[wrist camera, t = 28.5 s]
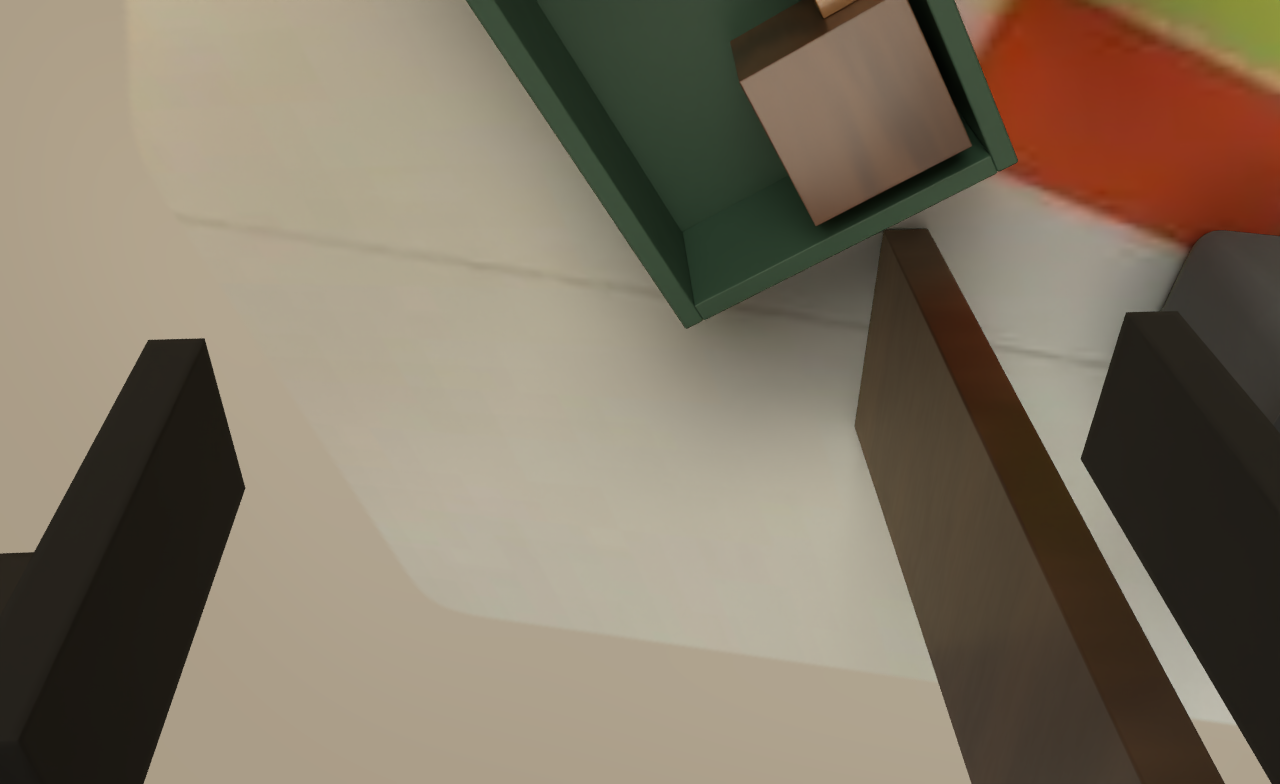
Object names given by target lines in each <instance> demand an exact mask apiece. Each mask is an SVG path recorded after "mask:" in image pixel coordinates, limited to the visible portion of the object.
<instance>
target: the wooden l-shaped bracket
mask: <svg viewBox="0 0 1280 784" xmlns="http://www.w3.org/2000/svg"><path fill="white" fill-rule="evenodd" d="M855 429H856V432H857V435H858V438H859V441H860V444H861V447H862V450H863V453H864V456H865V459H866V463H867V466H868V469H869V472H870V475H871V478H872V481H873V484H874V487H875V490H876V493H877V496H878V499H879V502H880V505H881V508H882V511H883V514H884V518H885V521H886V524H887V527H888V530H889V533H890V536H891V539H892V542H893V545H894V548H895V551H896V554H897V557H898V560H899V563H900V566H901V569H902V573H903V576H904V579H905V582H906V585H907V588H908V591H909V594H910V597H911V600H912V603H913V606H914V609H915V612H916V615H917V618H918V621H919V625H920V628H921V631H922V634H923V637H924V640H925V643H926V646H927V649H928V652H929V655H930V658H931V661H932V664H933V667H934V670H935V673H936V676H937V680H938V683H939V686H940V689H941V692H942V695H943V697H944V700H945V704H946V707H947V710H948V713H949V716H950V719H951V722H952V725H953V728H954V731H955V734H956V737H957V741H958V744H959V747H960V750H961V753H962V756H963V759H964V762H965V765H966V768H967V771H968V774H969V777H970V780H971V783H972V784H1225V783H1224V781H1223V779H1222V778H1221V776H1220V774H1219V772H1218V770H1217V768H1216V766H1215V764H1214V763H1213V761H1212V759H1211V757H1210V755H1209V753H1208V751H1207V749H1206V748H1205V746H1204V744H1203V742H1202V740H1201V738H1200V736H1199V735H1198V733H1197V731H1196V729H1195V727H1194V725H1193V723H1192V721H1191V720H1190V718H1189V716H1188V714H1187V712H1186V710H1185V708H1184V706H1183V705H1182V703H1181V701H1180V699H1179V697H1178V695H1177V693H1176V692H1175V690H1174V688H1173V686H1172V684H1171V682H1170V680H1169V678H1168V677H1167V675H1166V673H1165V671H1164V669H1163V667H1162V665H1161V664H1160V662H1159V660H1158V658H1157V656H1156V654H1155V652H1154V650H1153V649H1152V647H1151V645H1150V643H1149V641H1148V639H1147V637H1146V636H1145V634H1144V632H1143V630H1142V628H1141V626H1140V624H1139V622H1138V621H1137V619H1136V617H1135V615H1134V613H1133V611H1132V609H1131V608H1130V606H1129V604H1128V602H1127V600H1126V598H1125V596H1124V594H1123V593H1122V591H1121V589H1120V587H1119V585H1118V583H1117V581H1116V579H1115V578H1114V576H1113V574H1112V572H1111V570H1110V568H1109V566H1108V565H1107V563H1106V561H1105V559H1104V557H1103V555H1102V553H1101V551H1100V550H1099V548H1098V546H1097V544H1096V542H1095V540H1094V538H1093V537H1092V535H1091V533H1090V531H1089V529H1088V527H1087V525H1086V523H1085V522H1084V520H1083V518H1082V516H1081V514H1080V512H1079V510H1078V509H1077V507H1076V505H1075V503H1074V501H1073V499H1072V497H1071V495H1070V494H1069V492H1068V490H1067V488H1066V486H1065V484H1064V482H1063V481H1062V479H1061V477H1060V475H1059V473H1058V471H1057V469H1056V467H1055V466H1054V464H1053V462H1052V460H1051V458H1050V456H1049V454H1048V453H1047V451H1046V449H1045V447H1044V445H1043V443H1042V441H1041V439H1040V438H1039V436H1038V434H1037V432H1036V430H1035V428H1034V426H1033V425H1032V423H1031V421H1030V419H1029V417H1028V415H1027V413H1026V411H1025V410H1024V408H1023V406H1022V404H1021V402H1020V400H1019V398H1018V397H1017V395H1016V393H1015V391H1014V389H1013V387H1012V385H1011V383H1010V382H1009V380H1008V378H1007V376H1006V374H1005V372H1004V370H1003V368H1002V367H1001V365H1000V363H999V361H998V359H997V357H996V355H995V354H994V352H993V350H992V348H991V346H990V344H989V342H988V340H987V339H986V337H985V335H984V333H983V331H982V329H981V327H980V326H979V324H978V322H977V320H976V318H975V316H974V314H973V312H972V311H971V309H970V307H969V305H968V303H967V301H966V299H965V298H964V296H963V294H962V292H961V290H960V288H959V286H958V284H957V283H956V281H955V279H954V277H953V275H952V273H951V271H950V270H949V268H948V266H947V264H946V262H945V260H944V258H943V256H942V255H941V253H940V251H939V249H938V247H937V245H936V243H935V242H934V240H933V238H932V236H931V234H930V232H929V230H928V229H903V230H884V232H883V238H882V244H881V251H880V258H879V265H878V271H877V278H876V285H875V292H874V299H873V305H872V312H871V319H870V326H869V332H868V339H867V346H866V353H865V360H864V366H863V373H862V380H861V387H860V394H859V400H858V407H857V414H856V421H855Z"/></svg>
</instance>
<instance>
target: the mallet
mask: <svg viewBox="0 0 1280 784" xmlns="http://www.w3.org/2000/svg"><path fill="white" fill-rule="evenodd" d="M730 45H731V49H732V53H733V58H734V62H735V66H736V71H737V75H738V80H739V83H740V85H741V87H742V89H743V91H744V93H745V95H746V97H747V98H748V100H749V102H750V104H751V106H752V108H753V110H754V112H755V113H756V115H757V117H758V119H759V121H760V123H761V125H762V127H763V129H764V130H765V132H766V134H767V136H768V138H769V140H770V142H771V144H772V145H773V147H774V149H775V151H776V153H777V155H778V157H779V159H780V160H781V162H782V164H783V166H784V168H785V170H786V172H787V174H788V176H789V177H790V179H791V181H792V183H793V185H794V187H795V189H796V191H797V192H798V194H799V196H800V198H801V200H802V202H803V204H804V206H805V207H806V209H807V211H808V213H809V215H810V217H811V219H812V221H813V222H814V224H815V226H818V225H820V224H822V223H824V222H826V221H827V220H829V219H831V218H833V217H835V216H837V215H839V214H841V213H843V212H845V211H847V210H849V209H851V208H853V207H855V206H857V205H859V204H861V203H862V202H864V201H866V200H868V199H870V198H872V197H874V196H876V195H878V194H880V193H882V192H884V191H886V190H888V189H890V188H892V187H894V186H896V185H898V184H899V183H901V182H903V181H905V180H907V179H909V178H911V177H913V176H915V175H917V174H919V173H921V172H923V171H925V170H927V169H929V168H931V167H933V166H935V165H936V164H938V163H940V162H942V161H944V160H946V159H948V158H950V157H952V156H954V155H956V154H958V153H960V152H962V151H964V150H966V149H968V148H970V147H971V146H972V143H971V141H970V139H969V137H968V134H967V132H966V130H965V128H964V125H963V123H962V121H961V119H960V116H959V114H958V112H957V109H956V107H955V105H954V103H953V100H952V98H951V96H950V94H949V91H948V89H947V87H946V85H945V82H944V80H943V78H942V76H941V73H940V71H939V69H938V66H937V64H936V62H935V60H934V57H933V55H932V53H931V51H930V48H929V46H928V44H927V42H926V39H925V37H924V35H923V32H922V30H921V28H920V26H919V23H918V21H917V19H916V17H915V14H914V12H913V10H912V8H911V5H910V3H909V1H908V0H801V1H799V2H798V3H796V4H794V5H792V6H791V7H789V8H787V9H785V10H784V11H782V12H780V13H779V14H777V15H775V16H773V17H772V18H770V19H768V20H766V21H765V22H763V23H761V24H759V25H758V26H756V27H754V28H752V29H751V30H749V31H747V32H746V33H744V34H742V35H740V36H739V37H737V38H735V39H733V40H732V41H730Z"/></svg>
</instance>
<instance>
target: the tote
mask: <svg viewBox="0 0 1280 784" xmlns="http://www.w3.org/2000/svg"><path fill="white" fill-rule="evenodd" d="M466 1H467V3H468V4H469V6H470V7H471V9H472V10H473V12H474V13H475V15H476V16H477V18H478V19H479V21H480V22H481V24H482V25H483V27H484V28H485V30H486V31H487V33H488V34H489V36H490V37H491V39H492V40H493V42H494V43H495V45H496V46H497V48H498V49H499V51H500V52H501V54H502V55H503V57H504V58H505V60H506V61H507V63H508V64H509V66H510V67H511V69H512V70H513V72H514V73H515V75H516V76H517V78H518V79H519V81H520V82H521V84H522V85H523V87H524V88H525V90H526V91H527V93H528V94H529V96H530V97H531V99H532V100H533V102H534V103H535V105H536V106H537V108H538V109H539V110H540V112H541V113H542V115H543V116H544V118H545V119H546V121H547V122H548V124H549V125H550V127H551V128H552V130H553V131H554V133H555V134H556V136H557V137H558V139H559V140H560V142H561V143H562V145H563V146H564V148H565V149H566V151H567V152H568V154H569V155H570V157H571V158H572V160H573V161H574V163H575V164H576V166H577V167H578V169H579V170H580V172H581V173H582V175H583V176H584V178H585V179H586V181H587V182H588V184H589V185H590V187H591V188H592V190H593V191H594V193H595V194H596V196H597V197H598V199H599V200H600V202H601V203H602V205H603V206H604V208H605V209H606V211H607V212H608V214H609V215H610V217H611V218H612V220H613V221H614V223H615V224H616V226H617V227H618V229H619V230H620V232H621V233H622V235H623V236H624V238H625V239H626V241H627V242H628V244H629V245H630V247H631V248H632V249H633V251H634V252H635V254H636V255H637V257H638V258H639V260H640V261H641V263H642V264H643V266H644V267H645V269H646V270H647V272H648V273H649V275H650V276H651V278H652V279H653V281H654V282H655V284H656V285H657V287H658V288H659V290H660V291H661V293H662V294H663V296H664V297H665V299H666V300H667V302H668V303H669V305H670V306H671V308H672V309H673V311H674V312H675V314H676V315H677V317H678V318H679V320H680V321H681V323H682V324H683V326H684V327H685V328H686V329H687V328H689V327H691V326H693V325H695V324H697V323H699V322H701V321H702V320H706V319H708V318H710V317H712V316H714V315H716V314H718V313H720V312H722V311H724V310H726V309H728V308H730V307H732V306H734V305H736V304H738V303H740V302H742V301H744V300H746V299H748V298H750V297H752V296H754V295H755V294H757V293H759V292H761V291H763V290H765V289H767V288H769V287H771V286H773V285H775V284H777V283H779V282H781V281H783V280H785V279H787V278H789V277H791V276H793V275H795V274H797V273H799V272H801V271H803V270H805V269H807V268H809V267H811V266H813V265H815V264H817V263H819V262H821V261H823V260H825V259H827V258H829V257H831V256H833V255H835V254H837V253H839V252H841V251H843V250H845V249H847V248H849V247H851V246H853V245H855V244H857V243H859V242H861V241H863V240H865V239H867V238H869V237H871V236H873V235H875V234H877V233H879V232H881V231H883V230H885V229H887V228H889V227H891V226H893V225H895V224H897V223H899V222H901V221H903V220H905V219H907V218H909V217H911V216H913V215H915V214H917V213H919V212H921V211H923V210H925V209H927V208H929V207H931V206H933V205H935V204H936V203H938V202H940V201H942V200H944V199H946V198H948V197H950V196H952V195H954V194H956V193H958V192H960V191H962V190H964V189H966V188H968V187H970V186H972V185H974V184H976V183H978V182H980V181H982V180H984V179H986V178H988V177H990V176H992V175H994V174H996V173H997V171H998V172H999V171H1001V170H1003V169H1005V168H1007V167H1009V166H1011V165H1013V164H1015V163H1017V162H1018V159H1017V156H1016V154H1015V151H1014V149H1013V146H1012V144H1011V141H1010V139H1009V136H1008V134H1007V131H1006V129H1005V126H1004V124H1003V121H1002V119H1001V116H1000V114H999V111H998V109H997V106H996V104H995V101H994V99H993V96H992V94H991V91H990V89H989V86H988V84H987V81H986V79H985V76H984V74H983V71H982V69H981V66H980V64H979V61H978V59H977V56H976V54H975V51H974V49H973V46H972V44H971V41H970V39H969V36H968V34H967V31H966V29H965V26H964V24H963V21H962V19H961V16H960V14H959V11H958V9H957V6H956V4H955V1H954V0H908V1H909V3H910V5H911V8H912V10H913V12H914V14H915V17H916V19H917V21H918V23H919V26H920V28H921V30H922V32H923V35H924V37H925V39H926V42H927V44H928V46H929V48H930V51H931V53H932V55H933V57H934V60H935V62H936V64H937V66H938V69H939V71H940V73H941V76H942V78H943V80H944V82H945V85H946V87H947V89H948V91H949V94H950V96H951V98H952V100H953V103H954V105H955V107H956V109H957V112H958V114H959V116H960V119H961V121H962V123H963V125H964V128H965V130H966V132H967V134H968V137H969V139H970V141H971V143H972V146H971V147H970V148H968V149H966V150H964V151H962V152H960V153H958V154H956V155H954V156H952V157H950V158H948V159H946V160H944V161H942V162H940V163H938V164H936V165H935V166H933V167H931V168H929V169H927V170H925V171H923V172H921V173H919V174H917V175H915V176H913V177H911V178H909V179H907V180H905V181H903V182H901V183H899V184H898V185H896V186H894V187H892V188H890V189H888V190H886V191H884V192H882V193H880V194H878V195H876V196H874V197H872V198H870V199H868V200H866V201H864V202H862V203H861V204H859V205H857V206H855V207H853V208H851V209H849V210H847V211H845V212H843V213H841V214H839V215H837V216H835V217H833V218H831V219H829V220H827V221H826V222H824V223H822V224H820V225H818V226H815V224H814V222H813V221H812V219H811V217H810V215H809V213H808V211H807V209H806V207H805V206H804V204H803V202H802V200H801V198H800V196H799V194H798V192H797V191H796V189H795V187H794V185H793V183H792V181H791V179H790V177H789V176H788V174H787V172H786V170H785V168H784V166H783V164H782V162H781V160H780V159H779V157H778V155H777V153H776V151H775V149H774V147H773V145H772V144H771V142H770V140H769V138H768V136H767V134H766V132H765V130H764V129H763V127H762V125H761V123H760V121H759V119H758V117H757V115H756V113H755V112H754V110H753V108H752V106H751V104H750V102H749V100H748V98H747V97H746V95H745V93H744V91H743V89H742V87H741V85H740V83H739V80H738V75H737V71H736V66H735V62H734V58H733V53H732V49H731V45H730V41H732V40H733V39H735V38H737V37H739V36H740V35H742V34H744V33H746V32H747V31H749V30H751V29H752V28H754V27H756V26H758V25H759V24H761V23H763V22H765V21H766V20H768V19H770V18H772V17H773V16H775V15H777V14H779V13H780V12H782V11H784V10H785V9H787V8H789V7H791V6H792V5H794V4H796V3H798V2H799V1H801V0H466Z"/></svg>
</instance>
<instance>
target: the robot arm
mask: <svg viewBox="0 0 1280 784" xmlns="http://www.w3.org/2000/svg"><path fill="white" fill-rule="evenodd" d="M1081 460H1082V462H1083V464H1084V466H1085V467H1086V469H1087V471H1088V472H1089V474H1090V476H1091V477H1092V479H1093V481H1094V483H1095V484H1096V486H1097V488H1098V489H1099V491H1100V493H1101V494H1102V496H1103V498H1104V500H1105V501H1106V503H1107V505H1108V506H1109V508H1110V510H1111V511H1112V513H1113V515H1114V517H1115V518H1116V520H1117V522H1118V523H1119V525H1120V527H1121V528H1122V530H1123V532H1124V534H1125V535H1126V537H1127V539H1128V540H1129V542H1130V544H1131V545H1132V547H1133V549H1134V551H1135V552H1136V554H1137V556H1138V557H1139V559H1140V561H1141V562H1142V564H1143V566H1144V567H1145V569H1146V571H1147V573H1148V574H1149V576H1150V578H1151V579H1152V581H1153V583H1154V584H1155V586H1156V588H1157V590H1158V591H1159V593H1160V595H1161V596H1162V598H1163V600H1164V601H1165V603H1166V605H1167V607H1168V608H1169V610H1170V612H1171V613H1172V615H1173V617H1174V618H1175V620H1176V622H1177V624H1178V625H1179V627H1180V629H1181V630H1182V632H1183V634H1184V635H1185V637H1186V639H1187V641H1188V642H1189V644H1190V646H1191V647H1192V649H1193V651H1194V652H1195V654H1196V656H1197V658H1198V659H1199V661H1200V663H1201V664H1202V666H1203V668H1204V669H1205V671H1206V673H1207V674H1208V676H1209V678H1210V680H1211V681H1212V683H1213V685H1214V686H1215V688H1216V690H1217V691H1218V693H1219V695H1220V697H1221V698H1222V700H1223V702H1224V703H1225V705H1226V707H1227V708H1228V710H1229V712H1230V714H1231V715H1232V717H1233V719H1234V720H1235V722H1236V724H1237V725H1238V727H1239V729H1240V731H1241V732H1242V734H1243V736H1244V737H1245V739H1246V741H1247V742H1248V744H1249V746H1250V747H1251V749H1252V751H1253V753H1254V754H1255V756H1256V757H1257V759H1258V761H1259V763H1260V764H1261V766H1262V768H1263V769H1264V771H1265V773H1266V775H1267V776H1268V778H1269V780H1270V782H1271V783H1272V784H1280V433H1279V431H1278V430H1277V429H1276V428H1275V427H1274V426H1273V424H1272V423H1271V422H1270V421H1269V420H1268V418H1267V417H1266V416H1265V415H1264V414H1263V412H1262V411H1261V410H1260V409H1259V408H1258V406H1257V405H1256V404H1255V403H1254V402H1253V400H1252V399H1251V398H1250V397H1249V396H1248V395H1247V393H1246V392H1245V391H1244V390H1243V389H1242V387H1241V386H1240V385H1239V384H1238V383H1237V381H1236V380H1235V379H1234V378H1233V377H1232V375H1231V374H1230V373H1229V372H1228V371H1227V369H1226V368H1225V367H1224V366H1223V365H1222V363H1221V362H1220V361H1219V360H1218V359H1217V358H1216V356H1215V355H1214V354H1213V353H1212V352H1211V350H1210V349H1209V348H1208V347H1207V346H1206V344H1205V343H1204V342H1203V341H1202V340H1201V338H1200V337H1199V336H1198V335H1197V334H1196V332H1195V331H1194V330H1193V329H1192V328H1191V327H1190V325H1189V324H1188V323H1187V322H1186V321H1185V319H1184V318H1183V317H1182V316H1181V315H1180V313H1179V312H1178V311H1162V312H1126V314H1125V317H1124V321H1123V324H1122V327H1121V330H1120V334H1119V337H1118V340H1117V343H1116V347H1115V350H1114V353H1113V356H1112V359H1111V363H1110V366H1109V369H1108V372H1107V376H1106V379H1105V382H1104V385H1103V389H1102V392H1101V395H1100V398H1099V401H1098V405H1097V408H1096V411H1095V414H1094V418H1093V421H1092V424H1091V427H1090V431H1089V434H1088V437H1087V440H1086V443H1085V447H1084V450H1083V453H1082V456H1081ZM244 490H245V485H244V482H243V478H242V474H241V471H240V468H239V464H238V460H237V456H236V452H235V449H234V445H233V441H232V438H231V434H230V431H229V427H228V423H227V419H226V416H225V412H224V408H223V405H222V401H221V397H220V394H219V390H218V386H217V383H216V379H215V375H214V372H213V368H212V364H211V361H210V357H209V354H208V350H207V346H206V342H205V339H170V340H169V339H167V340H148V342H147V344H146V345H145V347H144V349H143V351H142V353H141V355H140V357H139V358H138V360H137V362H136V364H135V366H134V368H133V370H132V371H131V373H130V375H129V377H128V379H127V381H126V383H125V384H124V386H123V388H122V390H121V392H120V394H119V395H118V397H117V399H116V401H115V403H114V405H113V407H112V409H111V410H110V413H109V414H108V416H107V418H106V420H105V422H104V424H103V425H102V427H101V429H100V431H99V433H98V435H97V436H96V438H95V440H94V442H93V444H92V446H91V448H90V450H89V451H88V453H87V455H86V457H85V459H84V461H83V463H82V465H81V466H80V468H79V470H78V472H77V474H76V476H75V478H74V479H73V481H72V483H71V485H70V487H69V489H68V491H67V492H66V494H65V496H64V498H63V500H62V502H61V503H60V505H59V507H58V509H57V511H56V513H55V515H54V516H53V518H52V520H51V522H50V524H49V526H48V528H47V530H46V531H45V533H44V535H43V537H42V539H41V541H40V543H39V544H38V546H37V548H36V550H35V552H31V553H6V554H5V553H3V554H0V784H143V783H144V780H145V778H146V775H147V772H148V769H149V766H150V763H151V760H152V757H153V754H154V751H155V749H156V746H157V743H158V740H159V737H160V734H161V731H162V728H163V725H164V723H165V720H166V717H167V713H168V711H169V708H170V705H171V702H172V699H173V696H174V693H175V691H176V688H177V684H178V682H179V679H180V676H181V673H182V670H183V667H184V664H185V661H186V658H187V656H188V653H189V650H190V647H191V644H192V641H193V638H194V635H195V632H196V630H197V627H198V624H199V621H200V618H201V615H202V612H203V609H204V606H205V603H206V601H207V598H208V594H209V592H210V589H211V586H212V583H213V580H214V577H215V574H216V571H217V569H218V566H219V563H220V560H221V557H222V554H223V551H224V548H225V545H226V542H227V540H228V537H229V534H230V531H231V528H232V525H233V522H234V519H235V516H236V513H237V511H238V508H239V505H240V502H241V499H242V496H243V493H244Z"/></svg>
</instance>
